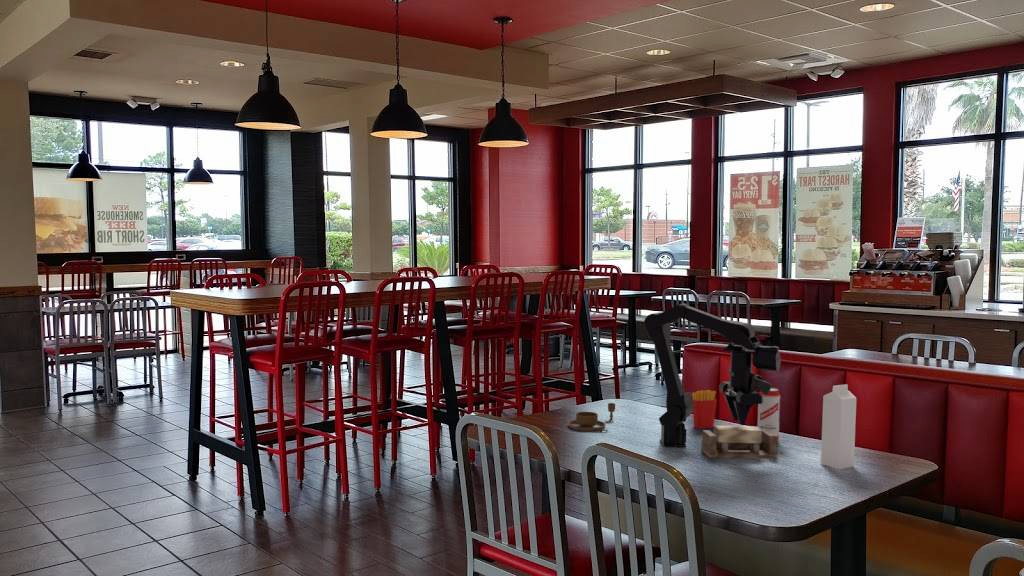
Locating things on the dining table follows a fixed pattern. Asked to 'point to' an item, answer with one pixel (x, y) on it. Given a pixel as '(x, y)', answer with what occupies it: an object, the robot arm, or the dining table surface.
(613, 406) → the place setting
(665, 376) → the robot arm
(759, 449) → the frame
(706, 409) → the french fries
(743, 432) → the board
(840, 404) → the milk
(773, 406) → the beer can
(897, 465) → the dining table surface
